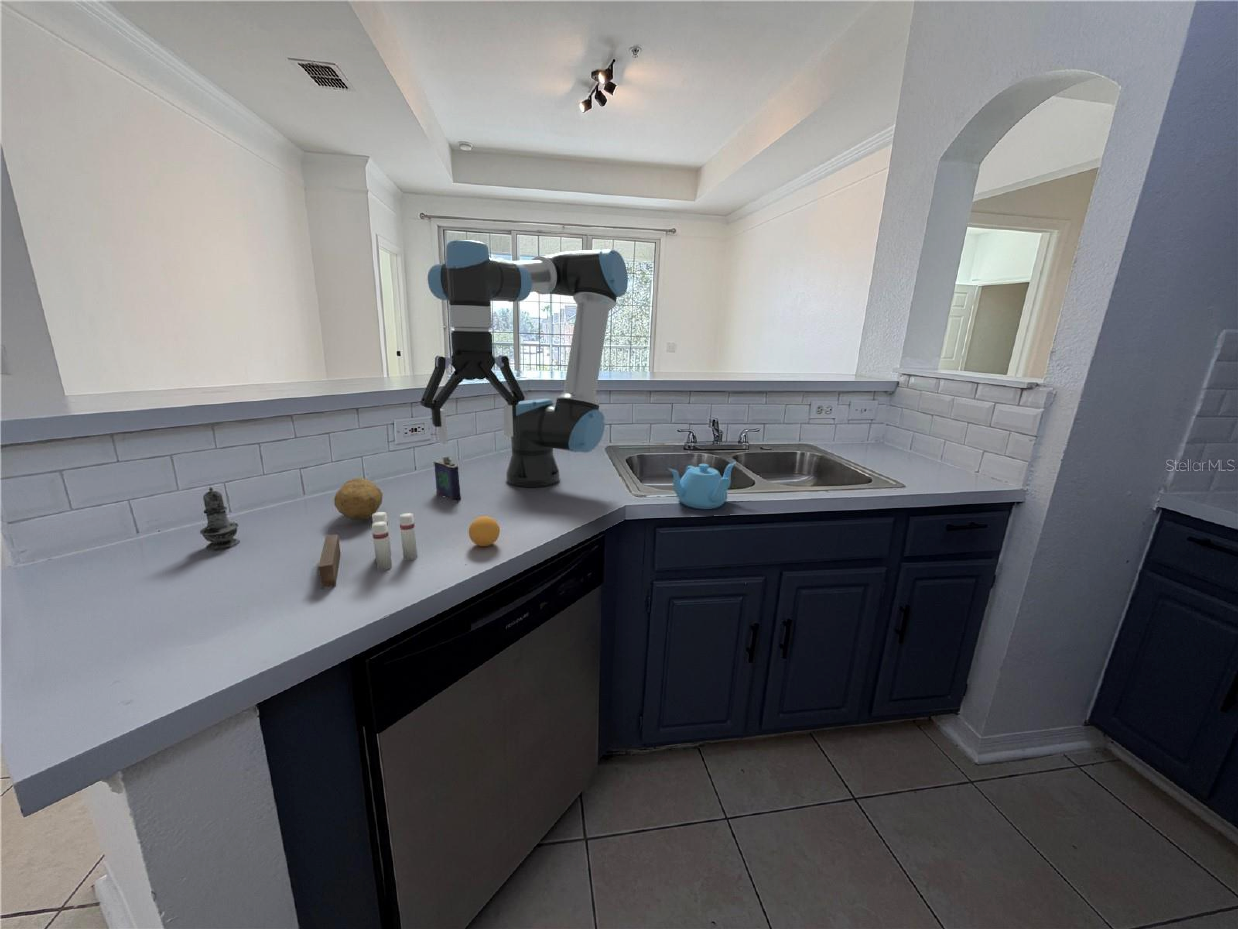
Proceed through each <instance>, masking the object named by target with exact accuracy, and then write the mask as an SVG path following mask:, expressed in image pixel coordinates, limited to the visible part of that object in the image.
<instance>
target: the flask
mask: <svg viewBox="0 0 1238 929" xmlns="http://www.w3.org/2000/svg"><path fill="white" fill-rule="evenodd" d="M450 458H451V456H450V455H449V456H443V457H442V458H441V460H440V459H437V460H435V461H433V465H434V466H433V467H434V475H435V489H436V491H435V492H436V495H438V496H441V497H442V496H445V497H446V499H447V500H450V501H452V502H458V501H459V502H460V501H461V500H462V495H461V486H460V475H459V474H460V473H459V466H458V464H455V463H454V462H452V460H451V459H450Z"/></svg>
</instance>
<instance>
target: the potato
mask: <svg viewBox="0 0 1238 929" xmlns="http://www.w3.org/2000/svg"><path fill="white" fill-rule="evenodd" d="M333 502H334V508H336V509H337V511H338V513H339V514H342V515H344V516H345V517H347V518H350V519H352V520H363V521H364V520H366V519H369V518H370V517H372V514H374V513H377V511H378V509H379V508H380V507H381V505H382V502H383V492H382V490H381V489H380V488H379V487H378V486H377V485H375V483H374V482H372V481H371V480H368V479H365V478H357V477H356V478H352V479H349V480H348V481H346V482H345V483H343V485H342V486H341V487H340V488H339V489H338V491H336V493H335V496H334V498H333Z"/></svg>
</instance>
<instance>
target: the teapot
mask: <svg viewBox="0 0 1238 929" xmlns="http://www.w3.org/2000/svg"><path fill="white" fill-rule="evenodd" d="M736 464H737V462H736V461H733V462H730V463H728V465H727V466H726V467H725V469H724V473H723V476H722V475H721V473H720V471H718V470H717V469H715V468H713V467H709V466H710V465H709V464H707V463H699V464H698V466H694V465H688V466H687V467H686V468H685V471H684V472H685V473H684V474H683V475H682V477H681V478H680V474H679V471H677V470H676V469H672V468H668V470H669V471H670V472H671V473H672V476H673V481H672V488H673V491H674V493H675V494H676V497H677V499H678V500H679V502H681V504H682V505H684V506H687V507H689V508H693V509H698V510H712V509H713V510H714V509H717V508H720V507H721V506H722V505H723V504H725V503H726V501H727V499H728V489H729V488H730V485H731V482H732V477H731V476H732V470H733V467H734V466H735V465H736Z"/></svg>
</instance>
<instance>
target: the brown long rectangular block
mask: <svg viewBox="0 0 1238 929" xmlns="http://www.w3.org/2000/svg"><path fill="white" fill-rule="evenodd" d="M340 547H341V546H340V539H339V534H332V535H326V536H325V537H324V542H323V545H322V551H321V554H320V558H319V563H318V572H319V578H320V585H321V589H326V588H331V587H336V585H337V579H338V575H339V574H338V573H339V567H340V560H341V555H342V552H341V548H340Z"/></svg>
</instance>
